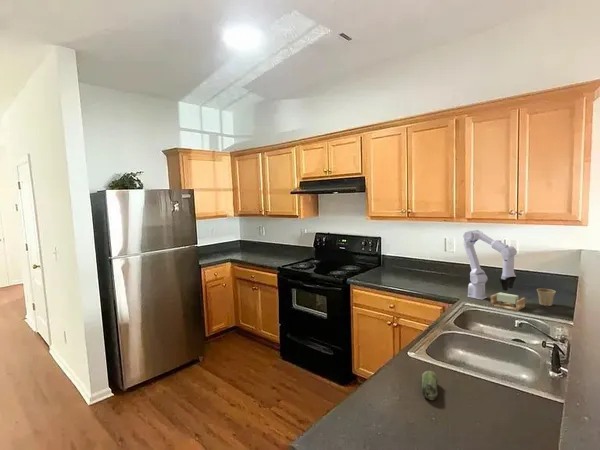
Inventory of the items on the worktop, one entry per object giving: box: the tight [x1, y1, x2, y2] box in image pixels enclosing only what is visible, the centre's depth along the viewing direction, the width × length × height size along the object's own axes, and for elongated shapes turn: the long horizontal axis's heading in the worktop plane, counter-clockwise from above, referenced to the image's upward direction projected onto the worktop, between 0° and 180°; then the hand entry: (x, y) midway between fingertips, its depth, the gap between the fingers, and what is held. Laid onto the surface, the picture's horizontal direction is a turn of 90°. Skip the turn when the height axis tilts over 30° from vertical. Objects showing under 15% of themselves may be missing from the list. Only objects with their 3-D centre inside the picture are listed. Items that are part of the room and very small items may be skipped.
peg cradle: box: [490, 292, 526, 312], centre depth 204 cm, size 15×11×6 cm
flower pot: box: [536, 288, 557, 307], centre depth 205 cm, size 9×9×9 cm
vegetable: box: [421, 370, 439, 401], centre depth 116 cm, size 14×5×5 cm, turn 159°
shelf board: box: [497, 291, 520, 304], centre depth 203 cm, size 10×5×4 cm, turn 39°
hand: (507, 289), depth 204 cm, fingers open, 7 cm apart
